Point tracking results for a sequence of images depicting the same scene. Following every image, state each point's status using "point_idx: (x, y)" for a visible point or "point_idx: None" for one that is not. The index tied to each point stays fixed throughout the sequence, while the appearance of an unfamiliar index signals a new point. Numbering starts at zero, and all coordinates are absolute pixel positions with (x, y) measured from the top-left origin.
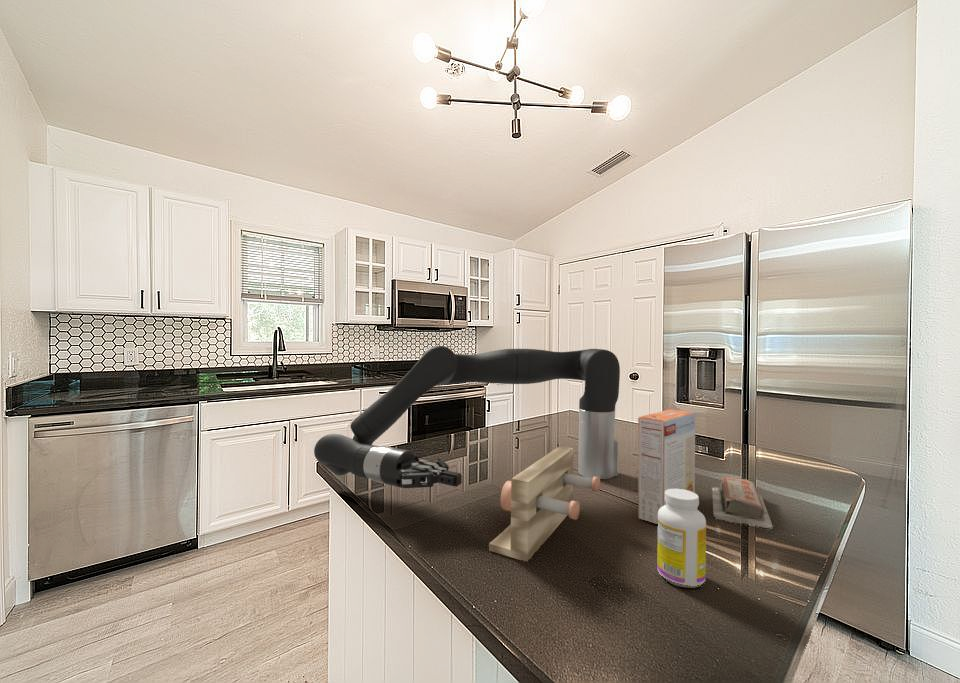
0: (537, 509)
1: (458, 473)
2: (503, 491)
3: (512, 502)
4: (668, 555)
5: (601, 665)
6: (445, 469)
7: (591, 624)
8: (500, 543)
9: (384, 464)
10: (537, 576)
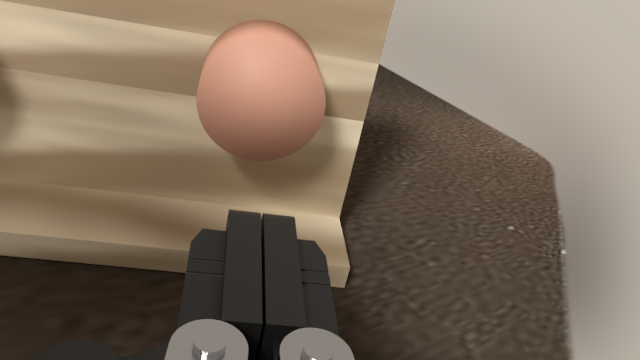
0: None
1: (242, 216)
2: (320, 76)
3: (375, 68)
4: None
5: (485, 129)
6: (214, 322)
7: (425, 133)
8: (323, 244)
9: None
10: (367, 187)
